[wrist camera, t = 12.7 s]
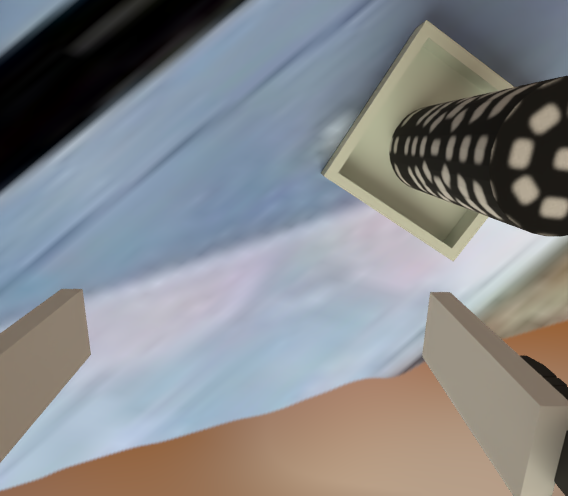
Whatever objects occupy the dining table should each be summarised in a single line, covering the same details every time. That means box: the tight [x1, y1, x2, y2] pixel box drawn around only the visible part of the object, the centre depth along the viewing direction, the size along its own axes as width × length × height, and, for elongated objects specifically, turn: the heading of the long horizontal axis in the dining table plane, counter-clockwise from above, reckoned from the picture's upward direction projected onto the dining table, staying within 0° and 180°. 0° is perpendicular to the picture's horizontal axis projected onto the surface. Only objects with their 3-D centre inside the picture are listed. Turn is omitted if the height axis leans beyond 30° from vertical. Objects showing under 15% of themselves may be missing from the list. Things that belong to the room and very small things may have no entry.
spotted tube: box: [389, 76, 568, 236], centre depth 31 cm, size 8×8×20 cm
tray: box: [321, 20, 513, 261], centre depth 39 cm, size 16×16×3 cm
